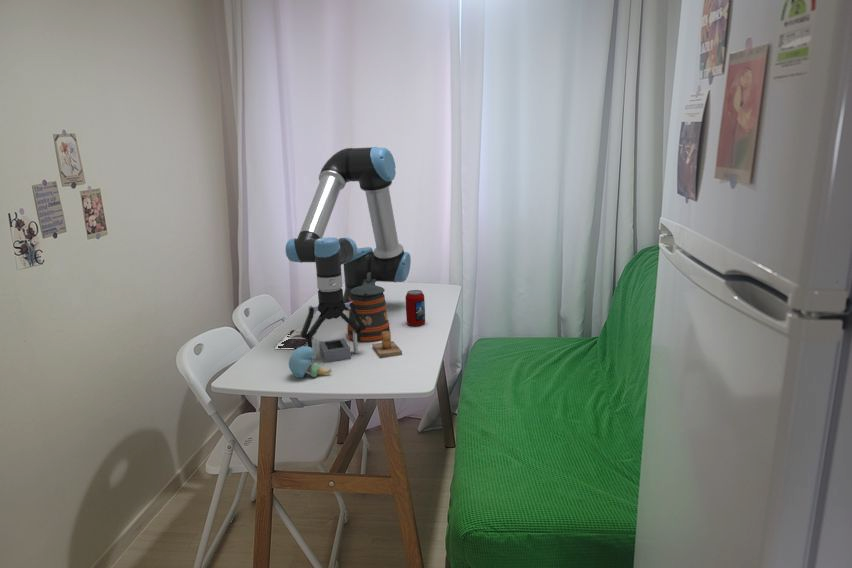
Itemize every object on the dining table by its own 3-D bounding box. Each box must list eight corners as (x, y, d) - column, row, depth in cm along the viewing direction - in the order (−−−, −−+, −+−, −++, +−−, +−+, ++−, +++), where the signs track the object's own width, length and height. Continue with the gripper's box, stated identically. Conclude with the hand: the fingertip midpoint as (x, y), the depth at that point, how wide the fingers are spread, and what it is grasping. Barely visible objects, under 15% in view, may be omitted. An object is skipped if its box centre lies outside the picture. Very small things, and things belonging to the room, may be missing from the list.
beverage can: (423, 327, 216) (422, 294, 213) (404, 326, 217) (403, 294, 214) (427, 321, 222) (425, 289, 219) (409, 320, 224) (407, 289, 221)
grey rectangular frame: (319, 352, 195) (319, 341, 194) (344, 348, 197) (343, 338, 196) (325, 362, 186) (324, 351, 185) (350, 358, 188) (350, 348, 187)
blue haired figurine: (329, 352, 171) (286, 350, 170) (329, 381, 173) (287, 380, 173) (333, 343, 178) (291, 342, 177) (333, 372, 180) (292, 370, 180)
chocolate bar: (273, 347, 199) (292, 330, 216) (273, 350, 199) (292, 332, 217) (300, 348, 198) (316, 330, 215) (300, 350, 198) (316, 332, 215)
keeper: (372, 347, 197) (371, 329, 195) (393, 344, 199) (392, 326, 198) (380, 357, 188) (379, 338, 186) (402, 354, 190) (401, 335, 188)
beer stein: (349, 326, 220) (345, 272, 216) (390, 323, 221) (387, 269, 216) (346, 343, 202) (342, 285, 197) (390, 341, 203) (387, 282, 198)
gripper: (290, 296, 179) (296, 364, 184) (372, 287, 186) (376, 353, 191) (287, 290, 186) (293, 356, 191) (366, 281, 193) (370, 345, 198)
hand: (335, 355), depth 191 cm, fingers open, 12 cm apart
